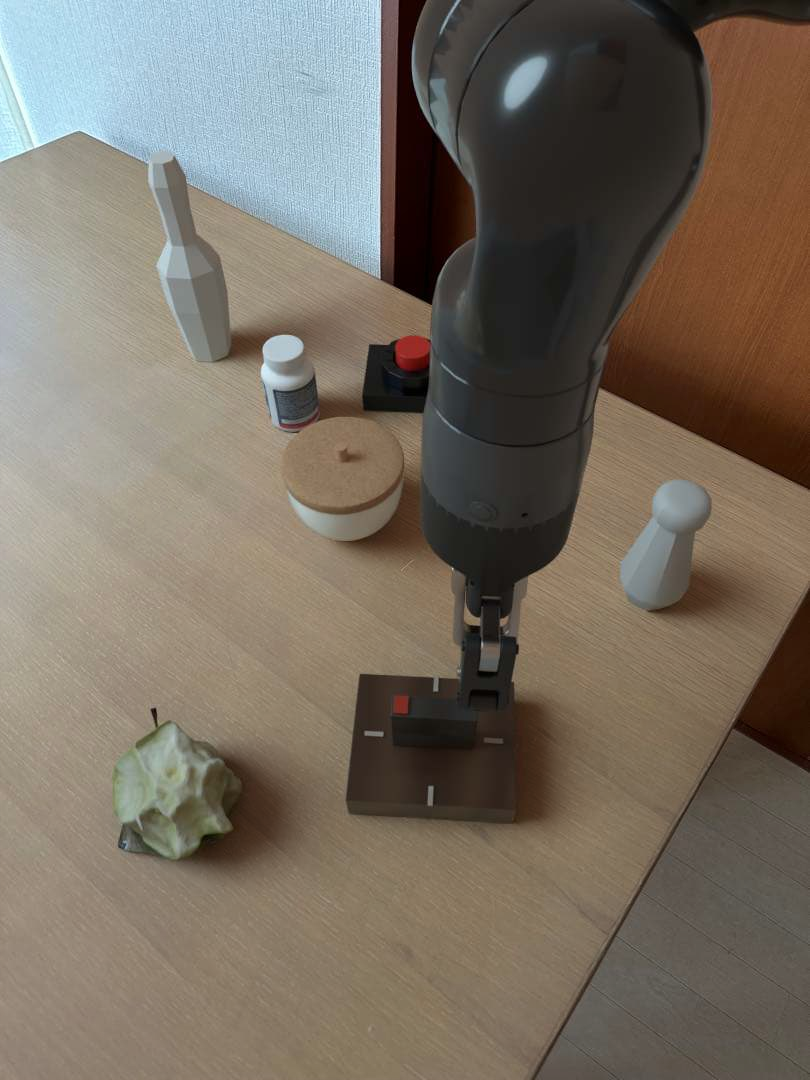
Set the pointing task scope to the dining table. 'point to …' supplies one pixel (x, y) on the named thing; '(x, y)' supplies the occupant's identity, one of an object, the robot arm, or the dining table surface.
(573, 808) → the dining table surface
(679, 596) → the salt shaker
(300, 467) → the trinket box
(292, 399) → the pill bottle
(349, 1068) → the dining table surface
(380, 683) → the handle panel
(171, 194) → the faceted bottle
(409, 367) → the red button
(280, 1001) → the dining table surface
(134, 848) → the fruit
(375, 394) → the button block
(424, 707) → the handle
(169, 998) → the dining table surface
